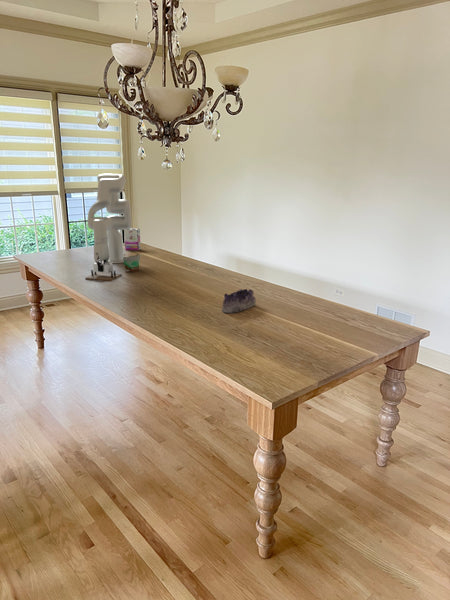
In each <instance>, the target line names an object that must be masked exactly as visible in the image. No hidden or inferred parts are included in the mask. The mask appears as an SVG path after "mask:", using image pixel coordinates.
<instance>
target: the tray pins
mask: <svg viewBox="0 0 450 600" xmlns="http://www.w3.org/2000/svg"><path fill="white" fill-rule="evenodd" d="M116 271H117V270H115V269H113V271H111V272H110V273H111V278H113V273H114V276H116V274H117V272H116ZM90 272H91V275H92V276H94V274H96V273H97V272H94V269H91V270H90Z"/></svg>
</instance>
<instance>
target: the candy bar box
mask: <svg viewBox="0 0 450 600" xmlns="http://www.w3.org/2000/svg"><path fill="white" fill-rule="evenodd" d="M140 229H141V228H132V227H131V229H129V230H123V231H124V232H123V234H124V247H125V248H124V249H125V251H140V250H141V249H142V247H141V233H140V232H141V230H140Z"/></svg>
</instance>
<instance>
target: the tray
mask: <svg viewBox="0 0 450 600" xmlns="http://www.w3.org/2000/svg"><path fill="white" fill-rule="evenodd" d="M93 274H94V273H93ZM120 277H122V273H116V276H114V272H113V278H111V272H110V273H101V272H96V274H94V276H92V275H88V276H86V277H85V280H87V281H96V282H104V283H105V282H109V283H111V282H113V281H115V280H116V279H118V278H120Z"/></svg>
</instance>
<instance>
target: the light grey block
mask: <svg viewBox="0 0 450 600" xmlns="http://www.w3.org/2000/svg"><path fill="white" fill-rule="evenodd" d="M113 264H114V263H105V262H103V261H102V265H103V272H101V273H111V271H112V272H114V271H113V270H114V265H113ZM92 267H93V268H92V269H93V273H94V272H96V273H97V272H98V265H97V263H96V262H94V263H93V264H92Z"/></svg>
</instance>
